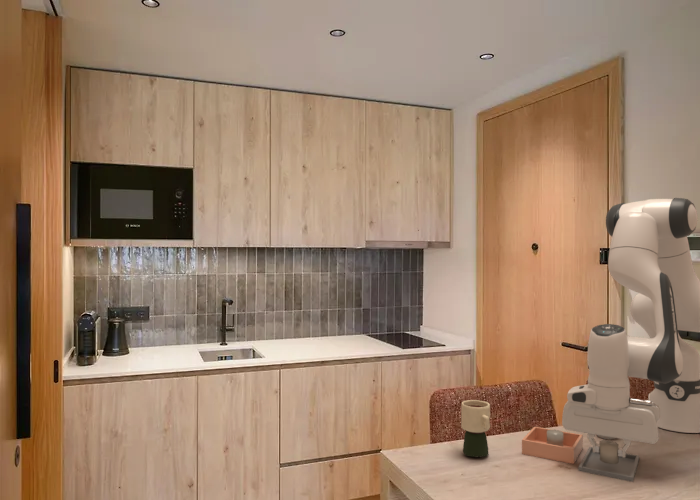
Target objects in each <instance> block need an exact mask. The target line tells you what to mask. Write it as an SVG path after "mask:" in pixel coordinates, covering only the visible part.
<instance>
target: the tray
mask: <svg viewBox="0 0 700 500" xmlns="http://www.w3.org/2000/svg"><path fill="white" fill-rule="evenodd" d="M639 462H640V455H638V454H637V455H636V454H633V453H632V454H631V453H627V452H626V457H625V458H621V457H619V463H617V464H608V463H604V462H602V461H600V454H599V453H593V446H589V447H588V449H587V451H586V453H585V454H584V456H583V458H582V460H581V462H580V463H579V465H578V472H583V473H587V474H592V475H598V476H602V477H607V478H612V479H617V480H621V481H627V482H631V483H634V479H635V476H636V472H637V469H638V465H639Z"/></svg>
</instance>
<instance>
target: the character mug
mask: <svg viewBox="0 0 700 500" xmlns="http://www.w3.org/2000/svg"><path fill="white" fill-rule="evenodd" d="M460 404H461V412H460V414H461V423H460V424H461V429H462V430H463V431H465V433H464V438H463V444H462V445H463V447H462V452H463V455H465V456H468V457H474V458H475V457H477V458H481V457H488V456H489V444H488V439H487V434H486V432H488V431H489V430H490V428H491V423H490V418H491V404H490V403H489V402H488V401H483V400H478V399H470V400H469V399H468V400H463V401H462V402H461V403H460Z"/></svg>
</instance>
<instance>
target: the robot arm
mask: <svg viewBox="0 0 700 500" xmlns="http://www.w3.org/2000/svg"><path fill="white" fill-rule="evenodd" d="M698 217H699V216H698V211H697V209H696V206H695V204H694V202H692V201H691V200H690V199H688V198H684V197H683V198H682V197H674V198H648V199H644V200H638V201H632V202H622V203H617V204H614V205H612V207H611V208H610V209H608V211H607V213H606V217H605V228H606V231H607V233H608V234H609V236H611V240H610V245H609V251H608V261H607V265H608V266H607V267H608V272H609V273H610V274H609V275H610V277H612V279H613V280H614V281H615V282H617V283H618V284H619V285H621V286H622V287H624V288H626V289H629V291H633V292H636V293H637V294H636V295H635V296H634V297H633V298H632V300H631V302H630V307H629V310H630V311H629V312H630V315H631V317H632V319H633V320H634V322H635V323H636V324H638V325H639V326H640V327H641V328H642V329H643V330H644V331H645V332H646V334H647V336H648V337H641V336H631V335H628V334H627V329H625V327H623V325H622V326H621V325H619V324H614V323H605V324H598V325H596V326H593V327H592V328H591V329H590V332H589V337H588V343H587V344H588V345H587V365H588V366H587V367H588V370H589V374H588V377H587V384H583V385H576V386H573V387H571V388H570V389H569V390H568V392H567V394H566V397H567V398H566V399H567V401H566V403H565V404H564V406H563V410H562V416H561V417H562V418H561V425H562V427H563V428H564V430H566V431H569V432H570V431H571V432H575V433H576V432H577V433H581V434H582V433H583V434H587V439H588V441H589V443H590V444H591V446H592V447H593V453H599V454H600V443H597V441H596V439H595V436H597V435H601V436H607V437H613V438H615V439H621V440H623V444H624V445H623V447H619V449H618V457H621V458H625V457H626V453H627V450H628V448H629V447H630V446H631V443H632V442H637V443H638V442H640V443H643V444H644V443H646V444H650V445H651V444H652V445H655V444H656V443H657V442H658V441H659V437H660V436H659V435H660V434H659V428H660V429H664V430H667V431H671V432H679V433H688V434H689V433H691V434H696V433H697V434H698V433H700V353H699V351H698V350H697V349H696V347H694V346H693V345H691V344H689V343H688V342H686V341H684V340H683V339H682V337H681V336H680V334H679V331H684V332H693V333H700V279H699V277H698V275H697V273H696V271H695V269H694V264H693V260H692V256H691V250H690V244H689V240H688V237H689V236H690V235H691V234H693V233H694V232H695V230H696V228H697V224H698V221H699V220H698V219H699V218H698ZM629 377H630V378H635V379H636V378H637V379H644V380H648V381H652V382H653V386H654V389H653V390H652V391H650V393H648V399H646V400H645V399H644V400H643V399H640V398H631V397H630V396H631V393H630V391H631V390H630V389H631V388H630V387H631V386H630V385H631V384H630V380H629Z"/></svg>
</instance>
